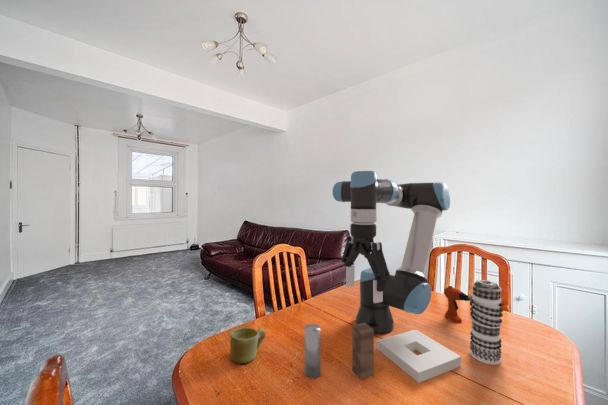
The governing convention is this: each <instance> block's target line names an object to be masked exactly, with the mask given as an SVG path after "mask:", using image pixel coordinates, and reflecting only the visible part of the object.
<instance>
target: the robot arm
mask: <svg viewBox="0 0 608 405" xmlns="http://www.w3.org/2000/svg"><path fill="white" fill-rule="evenodd" d="M332 197H333V198H334V200H335V201H337V202H341V203H350V222H351V223H350V236H347V237H346V244H345V247H344V251H343V255H342V258H341V263H344V266H345V287H346V288H351V287H355V262H356V260H357V258H358V256H359V255H362V256H364V258H365V259H366V260H367V262H368V264H369V267H370V268H365V269H363V270H362V271H360V275H359V276H360V277H359V284H360V285H359V289H360V290H359V291H360V292H359V293H360V294H359V302H360V303H359V308H358V311H357V314H356V316H355V325H357V324H361V323H366V324H367V325H368V326H370V327H371V328H372V329H374V335H381V334H382V335H383V334H389V333H391V332H392V331H393V330H394V327H395V325H394V324H395V323H394V319H393V315H392V312H391V308H390V307H392V308H393V309H394V308H395V309H397V310H401V311H403V312H406V313H408V314H409V313H410V314H414V315H421V314H423V313H424V312H425V311H426V310H427V308H428V306H429V304H430V302H431V300H432V299H431V298H432V292H433V291H432V286H431V285H430V283H428V282H429V281H428V277H427V276H426V274H425V273H426V268H427V265H428V260H429V255H430V250H431V246H432V241H433V237H434V232H435V229H436V223H437V219H439V218H440V217H442V215H443V212H446V211H447V210H449V208H450V205H451V197H450V192H449V189H448V186H447V185H446V184H445V183H444V182H440V181H439V182H438V181H437V182H436V181H433V182H409V183H401V184H400V183H399V184H396V182H394V181H392V180H390V179H386V178H385V179H382V178H380V179H378V177H377V173H376V172H375V171H374V170H356V171H353V172H352V173H351V174H350V180H341V181H337V182H336V183H335V184H334V185H333V187H332ZM377 204H386V205H387V206H389V207H396V208H397V207H398V208H402V209H408V210H409V209H410V210H411V212H412V213H413V218H412V222H411V226H410V230H409V233H408V234H409V235H408V239H407V243H406V247H405V250H404V254H403V257H402V263H401V266H400V267H399V268H397V269H396V270H395V273H394V275H393V274H390V270H389V268H388V265H387V262H386V259H385V256H384V252H383V245H382V242H380V241H379V242H378V241H377V242H375V241H374V238H375V237H376V236H377V225H376V223H377Z"/></svg>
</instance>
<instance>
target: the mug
mask: <svg viewBox="0 0 608 405" xmlns="http://www.w3.org/2000/svg"><path fill="white" fill-rule="evenodd" d="M265 337H266V331H265V330H264V328H259V329H257V330H256V329H254V328H252V327H238V328H235V329H234V330H233V331H231V333H230V341H229V342H230V348H229V350H230V351H229V353H230V354H229V357H230V360H231V361H232V362H233V363H236V364H240V363H246V364H248V363H251V362H253V361H254V360H255V359H256V357H257V353H258V351H259V348H260V347H261V344H262V343H263V341H264V339H265ZM253 359H254V360H253ZM252 360H253V361H252ZM250 361H251V362H250ZM247 362H248V363H247Z"/></svg>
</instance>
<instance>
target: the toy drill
mask: <svg viewBox="0 0 608 405" xmlns="http://www.w3.org/2000/svg"><path fill="white" fill-rule="evenodd" d="M443 290H444V291H443V292H444V296H445V297H446V298H447V303H448V304H447V310H446V311H445V313H444V317H445V319H448V320H449V321H450V322H452V323H455V324H457V323H458V324H460V323H462V321H463V320H462V318H461V317H460V316H459V315H458V309H459V306H458V303H457V301H464V302H470V296H469V295H468V294H466V293H464V292H463V291H462V290H460V289H457V288H455V287H453V286H452V285H449V286H447V287H445V289H443ZM472 300H473V298H472Z"/></svg>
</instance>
